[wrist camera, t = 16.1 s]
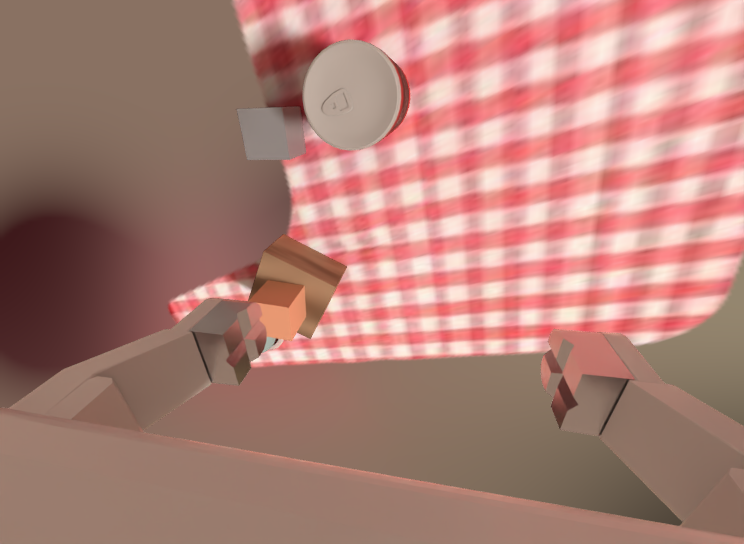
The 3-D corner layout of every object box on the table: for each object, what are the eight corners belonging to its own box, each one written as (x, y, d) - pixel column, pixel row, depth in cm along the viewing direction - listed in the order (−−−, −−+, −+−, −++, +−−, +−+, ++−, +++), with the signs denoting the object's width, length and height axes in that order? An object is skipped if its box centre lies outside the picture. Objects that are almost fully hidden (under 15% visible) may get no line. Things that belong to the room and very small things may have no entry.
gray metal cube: (260, 107, 37) (236, 108, 32) (300, 106, 36) (281, 107, 31) (268, 153, 39) (247, 159, 35) (306, 152, 38) (289, 159, 34)
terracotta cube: (267, 280, 41) (248, 301, 37) (304, 285, 40) (288, 307, 36) (271, 311, 43) (253, 334, 39) (306, 316, 43) (291, 340, 38)
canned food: (325, 92, 35) (282, 89, 25) (382, 36, 31) (359, 8, 22) (366, 152, 37) (342, 171, 27) (424, 106, 33) (420, 108, 24)
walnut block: (283, 233, 44) (263, 251, 39) (347, 265, 45) (335, 287, 40) (266, 285, 49) (245, 307, 44) (323, 314, 50) (310, 338, 45)
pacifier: (290, 324, 52) (257, 309, 52) (274, 351, 47) (237, 334, 46) (278, 352, 56) (247, 337, 55) (262, 379, 50) (227, 364, 50)
